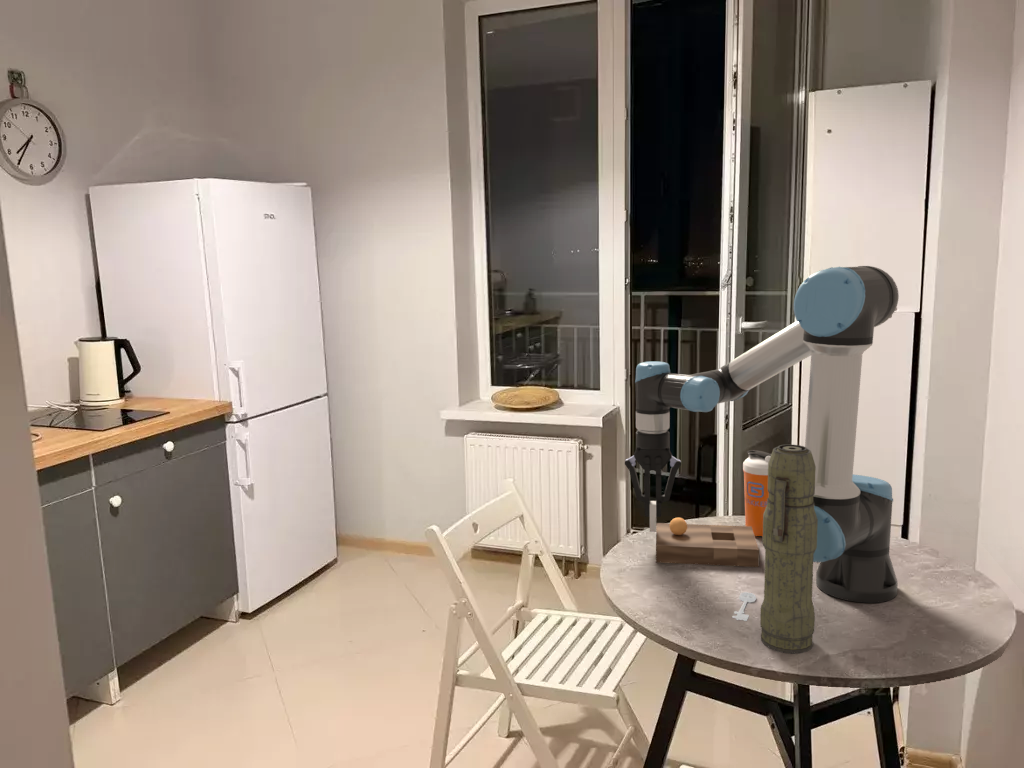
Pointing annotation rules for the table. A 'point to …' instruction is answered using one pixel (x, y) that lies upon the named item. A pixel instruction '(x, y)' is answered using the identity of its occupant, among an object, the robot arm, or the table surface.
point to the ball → (678, 526)
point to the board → (707, 545)
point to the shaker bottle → (756, 489)
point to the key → (745, 599)
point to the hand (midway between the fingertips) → (653, 529)
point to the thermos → (789, 551)
